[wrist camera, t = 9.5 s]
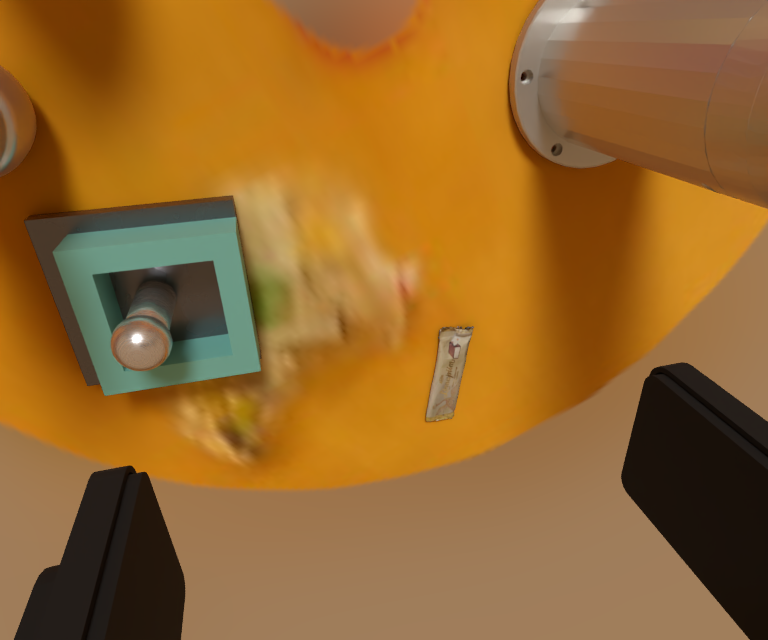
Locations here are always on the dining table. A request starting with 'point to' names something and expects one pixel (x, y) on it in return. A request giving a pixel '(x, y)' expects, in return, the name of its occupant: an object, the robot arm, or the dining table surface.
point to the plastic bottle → (14, 123)
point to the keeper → (140, 283)
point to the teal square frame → (147, 250)
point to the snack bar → (448, 372)
